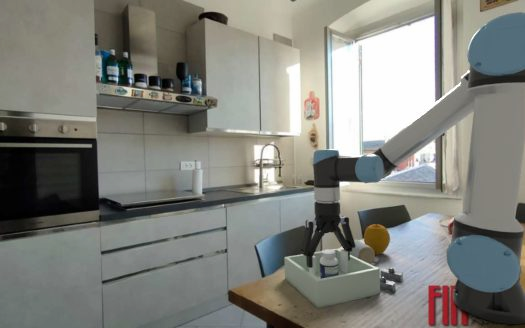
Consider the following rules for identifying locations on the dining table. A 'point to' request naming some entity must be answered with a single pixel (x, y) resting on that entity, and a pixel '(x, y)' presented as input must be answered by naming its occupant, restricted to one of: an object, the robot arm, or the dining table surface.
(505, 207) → the robot arm
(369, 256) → the ceramic mug
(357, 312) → the dining table surface
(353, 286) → the bin
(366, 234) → the orange
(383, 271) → the bracket
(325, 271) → the pill bottle
